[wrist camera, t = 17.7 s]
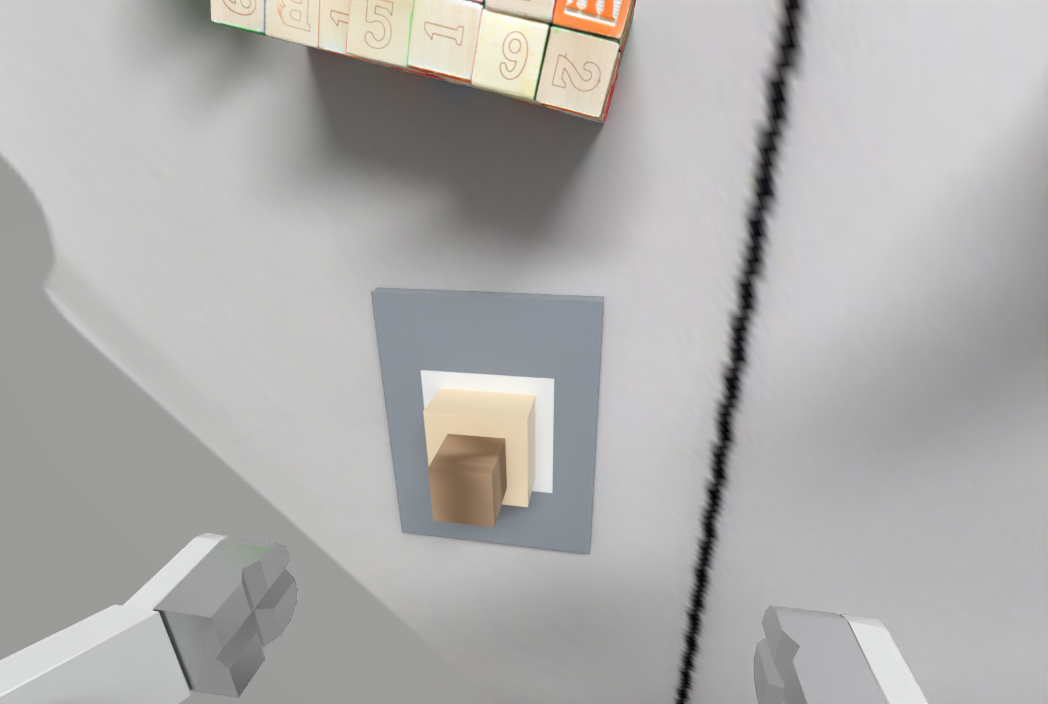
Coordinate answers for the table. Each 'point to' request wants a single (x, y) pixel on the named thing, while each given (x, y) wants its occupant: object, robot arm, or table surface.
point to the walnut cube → (468, 480)
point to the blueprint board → (495, 352)
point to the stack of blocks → (464, 41)
